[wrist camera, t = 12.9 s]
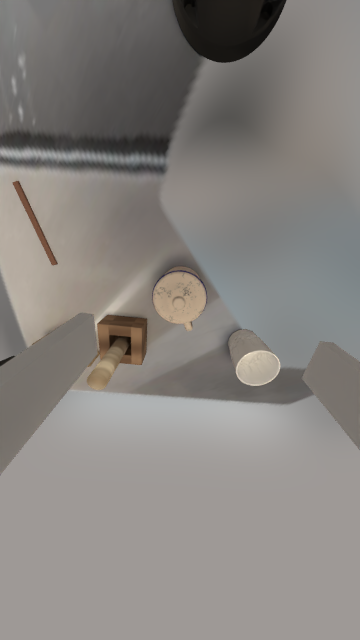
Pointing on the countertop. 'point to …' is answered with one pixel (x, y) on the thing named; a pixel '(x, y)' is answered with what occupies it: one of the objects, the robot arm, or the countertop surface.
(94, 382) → the beige wooden dowel
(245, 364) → the white cup
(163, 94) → the countertop surface
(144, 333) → the bead dark
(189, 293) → the teacup with lid
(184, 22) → the robot arm
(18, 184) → the brown wooden stick
